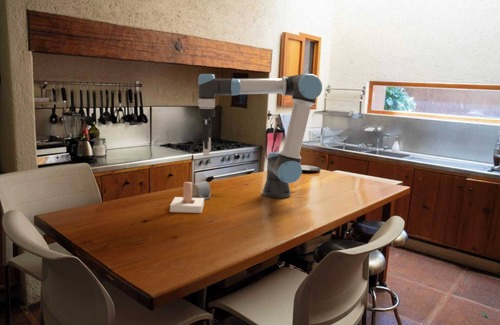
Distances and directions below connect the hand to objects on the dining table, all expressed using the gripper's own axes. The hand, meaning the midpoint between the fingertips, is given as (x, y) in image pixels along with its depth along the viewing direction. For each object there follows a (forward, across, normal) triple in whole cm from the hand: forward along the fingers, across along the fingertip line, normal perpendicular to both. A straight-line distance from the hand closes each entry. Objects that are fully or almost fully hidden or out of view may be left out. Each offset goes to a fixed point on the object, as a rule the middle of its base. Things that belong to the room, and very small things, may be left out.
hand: (207, 153), depth 194 cm
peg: (+24, +8, -9) cm, 27 cm away
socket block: (+24, +8, -9) cm, 27 cm away
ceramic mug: (+25, -12, -4) cm, 28 cm away
